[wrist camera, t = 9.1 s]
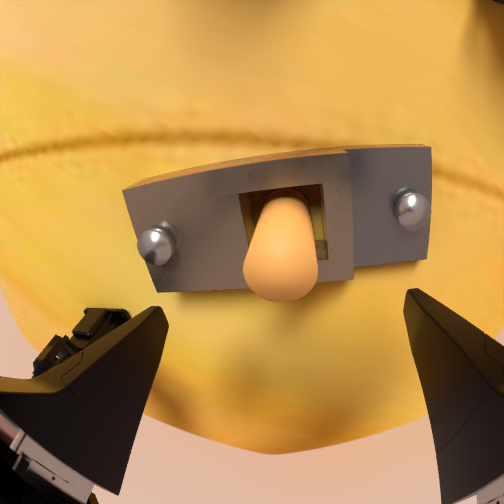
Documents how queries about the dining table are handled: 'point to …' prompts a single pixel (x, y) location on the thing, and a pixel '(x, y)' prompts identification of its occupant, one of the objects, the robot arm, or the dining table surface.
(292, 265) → the connecting pin
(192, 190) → the gray switch cover plate
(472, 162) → the dining table surface
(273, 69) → the dining table surface
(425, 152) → the grey peg hole base
